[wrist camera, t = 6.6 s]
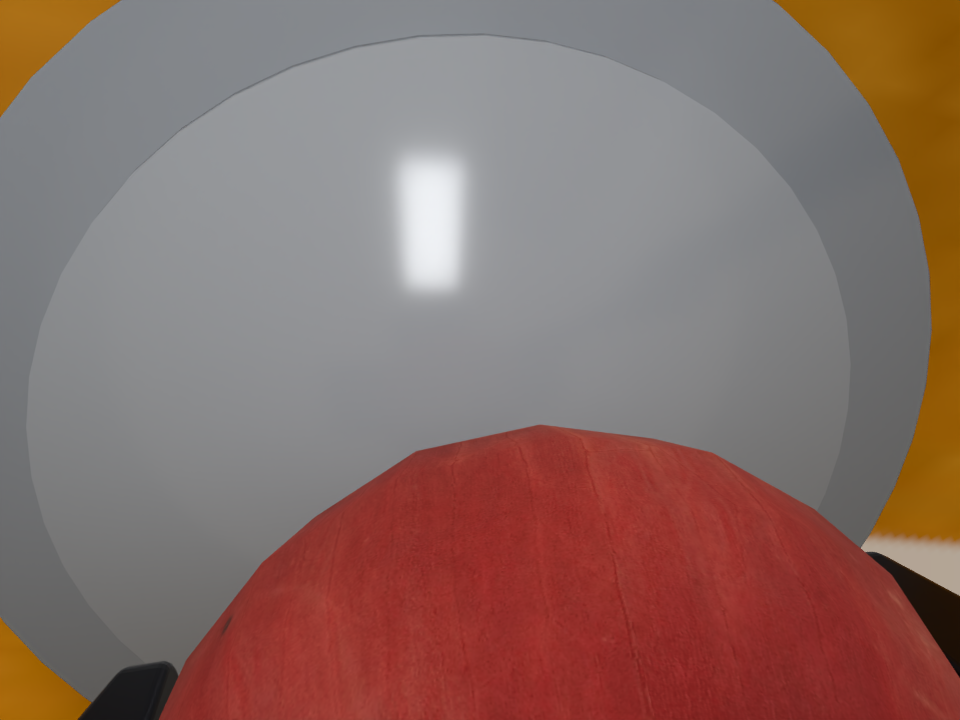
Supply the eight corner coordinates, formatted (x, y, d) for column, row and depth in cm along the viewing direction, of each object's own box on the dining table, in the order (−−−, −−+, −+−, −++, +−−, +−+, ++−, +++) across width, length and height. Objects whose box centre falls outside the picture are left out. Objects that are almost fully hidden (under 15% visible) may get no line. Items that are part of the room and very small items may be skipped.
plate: (945, -149, 10) (1039, -156, 9) (831, 661, 15) (878, 733, 14) (-223, -52, 9) (-320, -44, 8) (103, 785, 14) (79, 875, 13)
